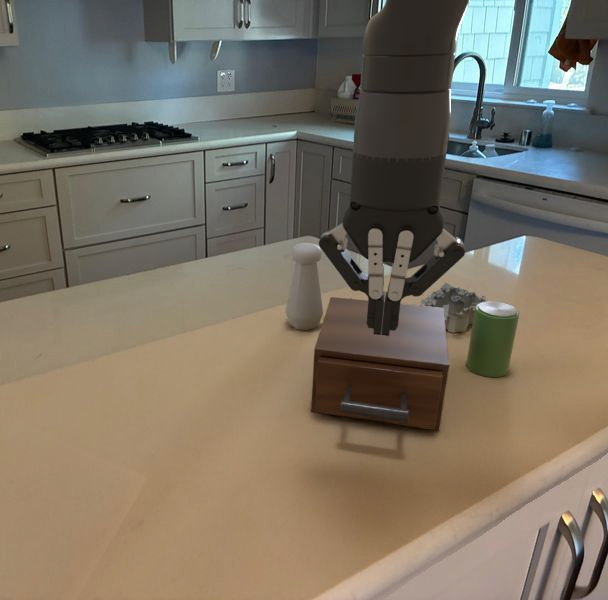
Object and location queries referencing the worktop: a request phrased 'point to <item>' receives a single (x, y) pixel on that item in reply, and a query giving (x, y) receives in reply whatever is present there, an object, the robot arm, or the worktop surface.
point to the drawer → (378, 391)
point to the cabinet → (384, 340)
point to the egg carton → (455, 306)
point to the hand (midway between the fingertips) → (381, 331)
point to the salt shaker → (305, 288)
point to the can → (492, 338)
